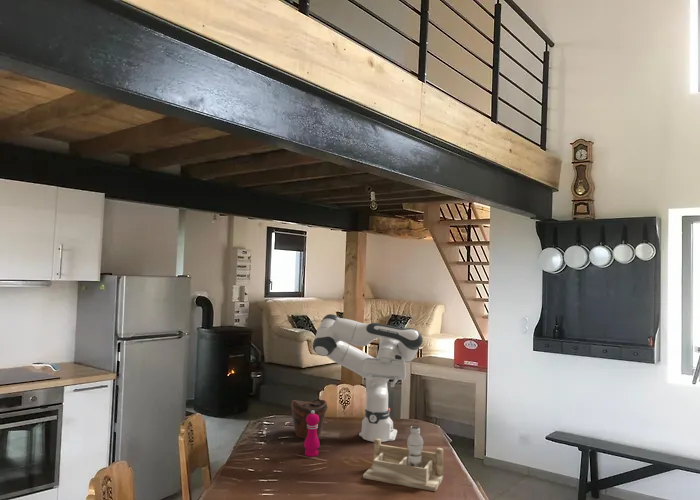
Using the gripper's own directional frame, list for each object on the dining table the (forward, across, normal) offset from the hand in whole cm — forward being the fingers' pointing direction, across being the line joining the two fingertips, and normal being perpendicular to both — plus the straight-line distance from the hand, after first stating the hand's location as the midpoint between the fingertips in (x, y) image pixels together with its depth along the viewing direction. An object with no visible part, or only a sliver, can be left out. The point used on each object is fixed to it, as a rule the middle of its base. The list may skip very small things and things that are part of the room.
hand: (381, 385), depth 239 cm
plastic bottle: (+35, +18, +10) cm, 41 cm away
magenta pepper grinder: (+24, -31, +25) cm, 46 cm away
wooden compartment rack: (+35, +13, +12) cm, 39 cm away
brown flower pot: (+5, -40, +45) cm, 60 cm away
